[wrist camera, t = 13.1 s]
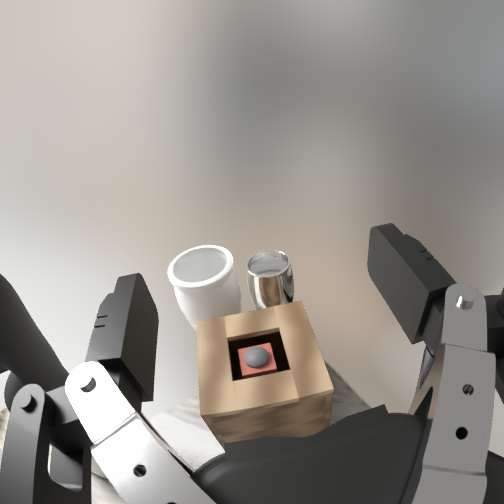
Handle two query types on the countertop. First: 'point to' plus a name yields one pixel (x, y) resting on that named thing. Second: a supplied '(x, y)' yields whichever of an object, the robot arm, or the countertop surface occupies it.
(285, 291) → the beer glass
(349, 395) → the countertop surface
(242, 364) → the spice tin
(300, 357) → the slot box
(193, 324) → the jar
